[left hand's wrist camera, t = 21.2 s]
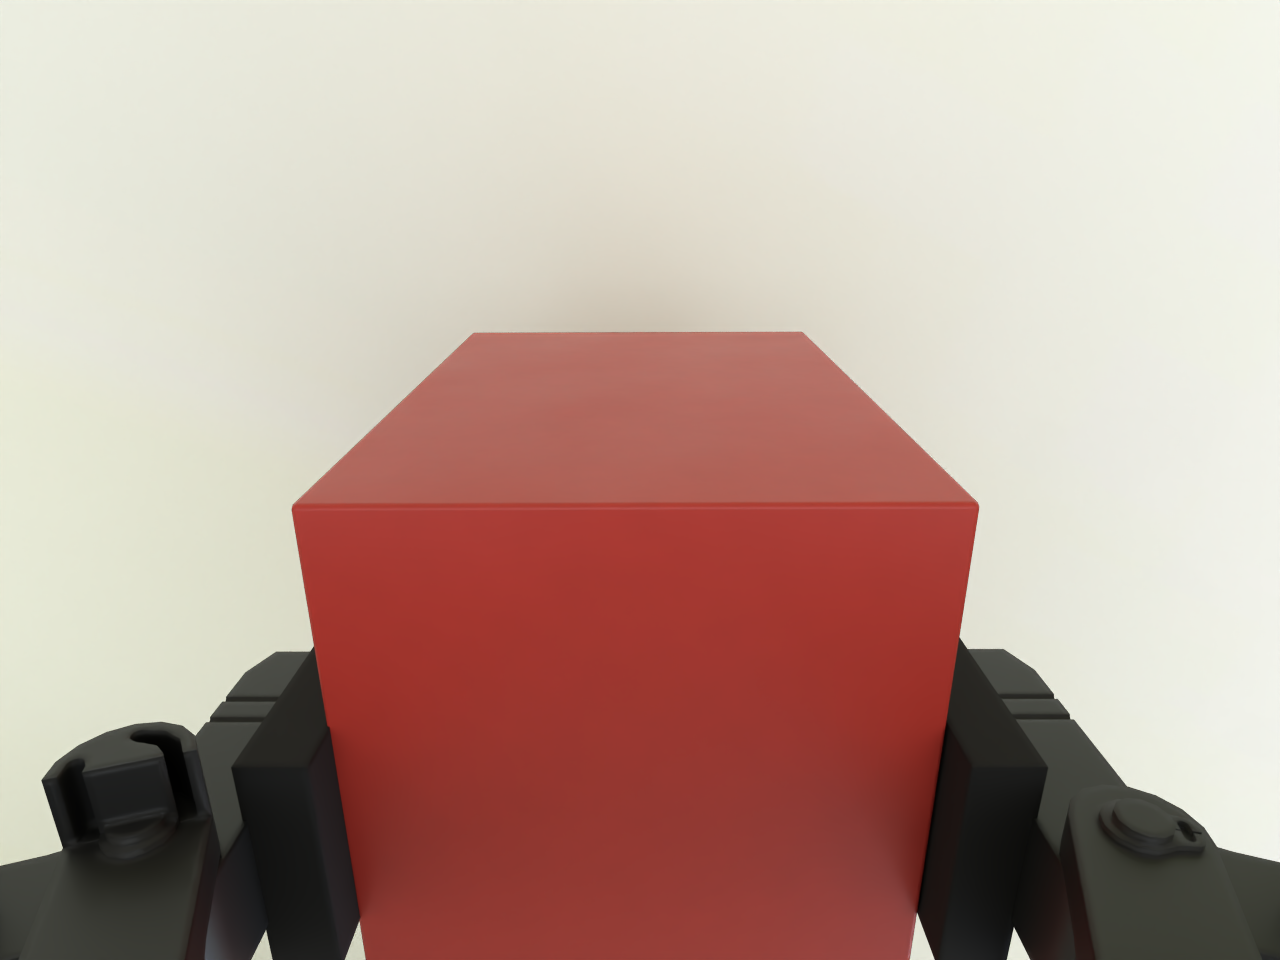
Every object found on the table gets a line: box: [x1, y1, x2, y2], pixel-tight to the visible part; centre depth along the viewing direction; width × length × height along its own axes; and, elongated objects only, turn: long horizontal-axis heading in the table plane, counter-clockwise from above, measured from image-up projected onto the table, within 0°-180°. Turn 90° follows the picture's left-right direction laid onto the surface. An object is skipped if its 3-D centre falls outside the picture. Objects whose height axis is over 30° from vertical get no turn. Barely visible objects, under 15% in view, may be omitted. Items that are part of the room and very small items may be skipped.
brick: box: [292, 332, 979, 960], centre depth 13 cm, size 8×7×9 cm
